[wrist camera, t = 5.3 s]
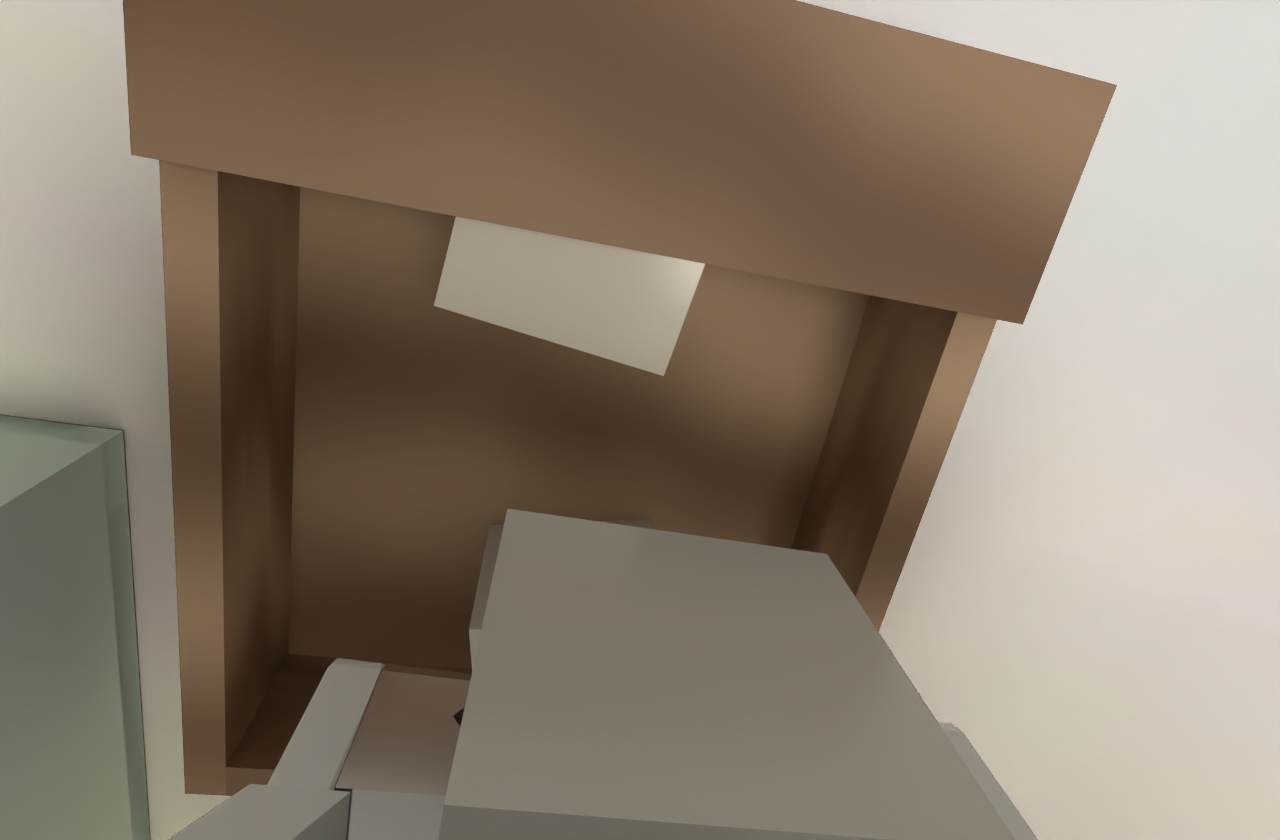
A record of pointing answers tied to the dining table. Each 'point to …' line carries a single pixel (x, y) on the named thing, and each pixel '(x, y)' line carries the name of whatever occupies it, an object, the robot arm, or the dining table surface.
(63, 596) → the teal tub
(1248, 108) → the dining table surface
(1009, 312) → the walnut bin
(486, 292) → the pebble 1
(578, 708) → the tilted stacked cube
